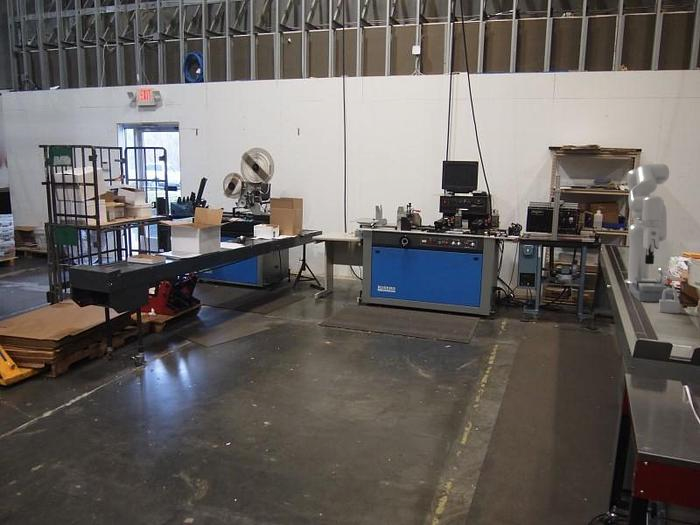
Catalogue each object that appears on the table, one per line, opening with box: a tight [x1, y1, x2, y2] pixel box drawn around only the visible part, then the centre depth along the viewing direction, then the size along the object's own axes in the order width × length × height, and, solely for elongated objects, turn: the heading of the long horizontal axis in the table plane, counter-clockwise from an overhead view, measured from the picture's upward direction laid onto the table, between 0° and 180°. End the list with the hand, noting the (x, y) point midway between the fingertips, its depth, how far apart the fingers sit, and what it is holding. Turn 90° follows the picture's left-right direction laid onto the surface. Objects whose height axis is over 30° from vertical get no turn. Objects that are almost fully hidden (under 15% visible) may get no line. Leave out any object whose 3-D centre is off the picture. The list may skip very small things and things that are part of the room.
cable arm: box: [657, 267, 678, 285], centre depth 253 cm, size 27×3×10 cm, turn 161°
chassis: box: [628, 278, 673, 303], centre depth 252 cm, size 26×13×7 cm, turn 162°
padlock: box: [658, 287, 681, 314], centre depth 222 cm, size 7×4×10 cm, turn 64°
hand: (649, 263), depth 247 cm, fingers closed
